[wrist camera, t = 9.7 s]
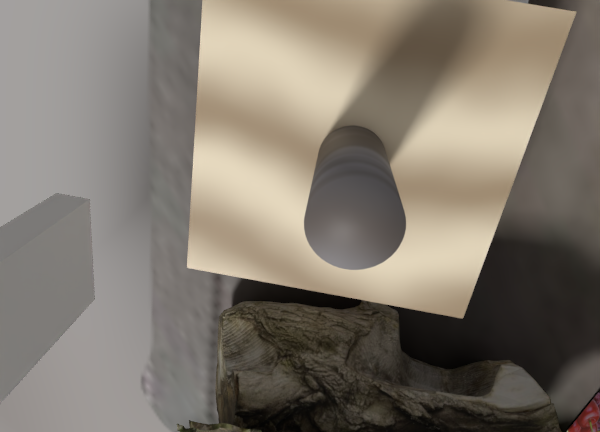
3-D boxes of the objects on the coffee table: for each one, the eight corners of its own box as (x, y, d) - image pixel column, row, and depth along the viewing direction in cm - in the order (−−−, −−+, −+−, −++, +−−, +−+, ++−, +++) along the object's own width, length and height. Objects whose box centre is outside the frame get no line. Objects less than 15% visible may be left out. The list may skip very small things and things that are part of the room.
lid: (224, -41, 22) (119, -95, 12) (545, 13, 22) (722, 4, 12) (203, 242, 29) (123, 364, 18) (450, 288, 28) (510, 438, 18)
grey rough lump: (520, 352, 41) (663, 343, 27) (514, 511, 37) (680, 599, 23) (222, 283, 40) (208, 236, 26) (179, 438, 36) (135, 482, 22)
